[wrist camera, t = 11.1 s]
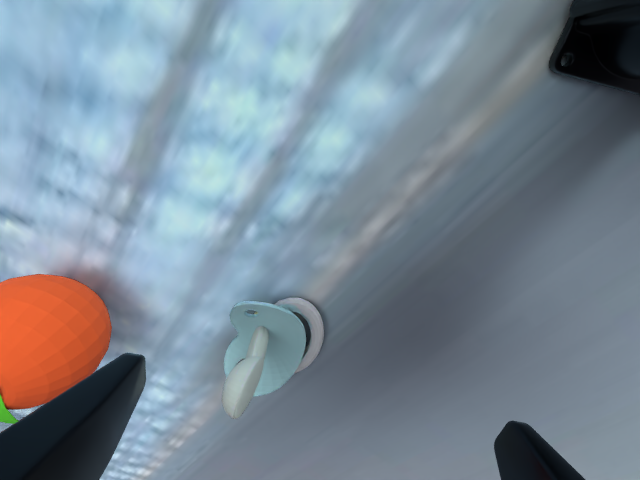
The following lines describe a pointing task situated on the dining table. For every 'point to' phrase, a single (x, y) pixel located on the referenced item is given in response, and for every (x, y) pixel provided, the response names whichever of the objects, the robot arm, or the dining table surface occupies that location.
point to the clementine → (47, 339)
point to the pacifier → (267, 349)
